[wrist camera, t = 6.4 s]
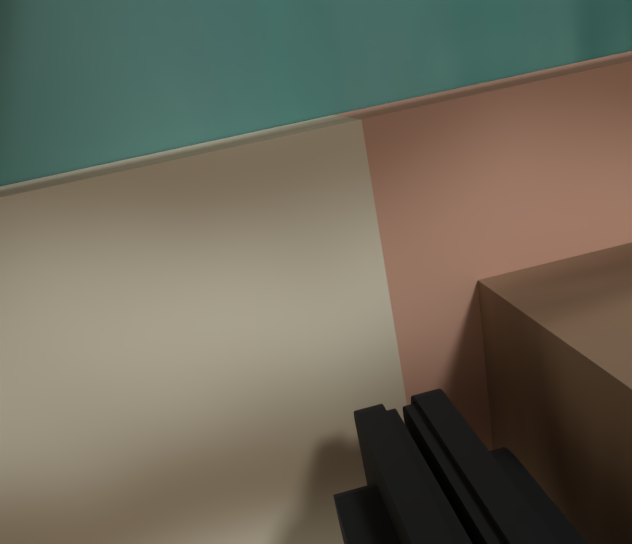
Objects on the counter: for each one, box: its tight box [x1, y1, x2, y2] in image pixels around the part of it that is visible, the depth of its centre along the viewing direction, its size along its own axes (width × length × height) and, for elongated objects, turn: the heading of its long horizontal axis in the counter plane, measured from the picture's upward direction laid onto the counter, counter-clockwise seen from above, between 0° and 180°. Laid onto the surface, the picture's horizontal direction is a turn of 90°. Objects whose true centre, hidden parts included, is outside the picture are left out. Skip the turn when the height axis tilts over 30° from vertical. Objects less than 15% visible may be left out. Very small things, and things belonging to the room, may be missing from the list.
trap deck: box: [0, 51, 632, 544], centre depth 13 cm, size 12×27×2 cm, turn 102°
